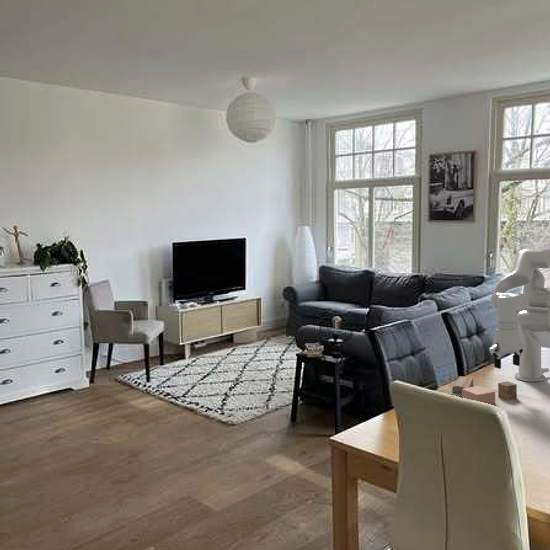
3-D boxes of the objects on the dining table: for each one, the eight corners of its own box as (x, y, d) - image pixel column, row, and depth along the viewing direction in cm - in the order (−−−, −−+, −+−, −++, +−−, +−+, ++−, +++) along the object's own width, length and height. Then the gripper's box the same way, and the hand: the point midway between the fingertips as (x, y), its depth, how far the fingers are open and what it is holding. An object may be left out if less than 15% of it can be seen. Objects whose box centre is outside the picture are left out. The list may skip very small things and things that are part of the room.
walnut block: (507, 395, 231) (507, 381, 231) (516, 398, 227) (516, 384, 226) (498, 396, 230) (498, 382, 229) (507, 400, 225) (507, 386, 225)
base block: (479, 397, 230) (479, 385, 230) (495, 403, 222) (495, 391, 221) (462, 400, 227) (462, 388, 227) (477, 407, 219) (477, 394, 218)
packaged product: (454, 374, 249) (477, 376, 245) (454, 384, 250) (477, 387, 245) (446, 385, 234) (471, 388, 229) (446, 396, 234) (471, 399, 229)
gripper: (516, 322, 232) (516, 362, 233) (483, 326, 226) (483, 367, 227) (530, 325, 225) (530, 366, 226) (496, 329, 219) (496, 371, 220)
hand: (506, 366), depth 227 cm, fingers open, 9 cm apart
